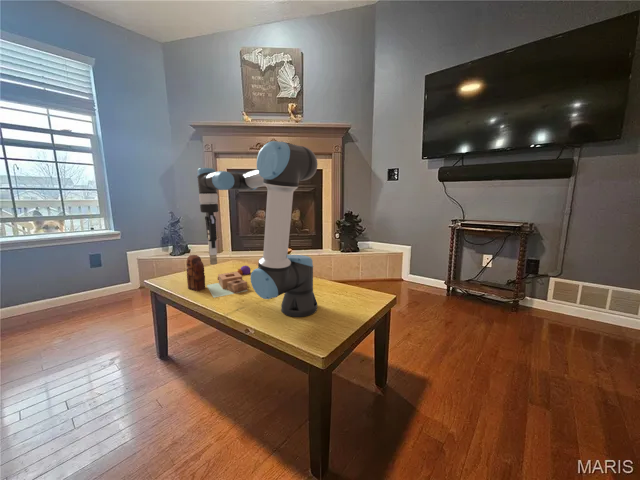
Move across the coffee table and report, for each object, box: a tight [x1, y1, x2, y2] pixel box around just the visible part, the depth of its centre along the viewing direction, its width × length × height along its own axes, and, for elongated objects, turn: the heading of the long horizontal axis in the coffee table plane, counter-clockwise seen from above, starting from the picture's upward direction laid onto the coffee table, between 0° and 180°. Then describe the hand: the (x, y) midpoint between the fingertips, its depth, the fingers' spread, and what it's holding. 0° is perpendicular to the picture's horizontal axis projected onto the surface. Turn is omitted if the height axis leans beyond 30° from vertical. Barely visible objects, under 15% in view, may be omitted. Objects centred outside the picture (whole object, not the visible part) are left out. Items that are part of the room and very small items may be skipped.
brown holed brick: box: [227, 279, 248, 294], centre depth 129 cm, size 7×7×4 cm
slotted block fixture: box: [206, 271, 248, 299], centre depth 131 cm, size 20×16×6 cm
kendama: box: [217, 265, 251, 281], centre depth 150 cm, size 6×6×20 cm
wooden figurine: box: [186, 254, 206, 292], centre depth 131 cm, size 12×6×18 cm, turn 56°
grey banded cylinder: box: [207, 230, 218, 266], centre depth 120 cm, size 3×3×16 cm
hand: (213, 253), depth 121 cm, fingers closed on grey banded cylinder, 3 cm apart
